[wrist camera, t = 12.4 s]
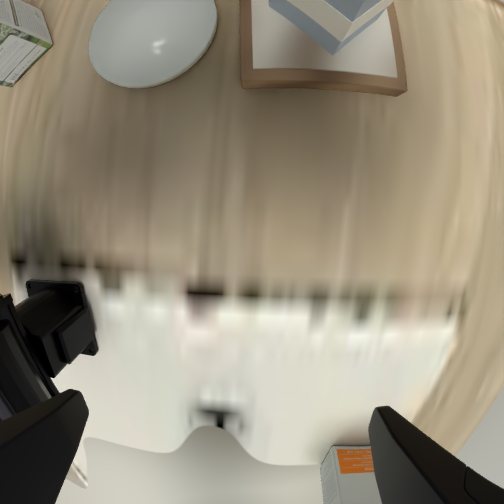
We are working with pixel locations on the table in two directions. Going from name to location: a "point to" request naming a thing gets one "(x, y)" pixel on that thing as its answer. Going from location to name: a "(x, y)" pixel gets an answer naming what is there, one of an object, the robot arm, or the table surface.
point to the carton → (331, 18)
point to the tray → (319, 55)
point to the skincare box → (349, 476)
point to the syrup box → (20, 39)
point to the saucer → (150, 40)
